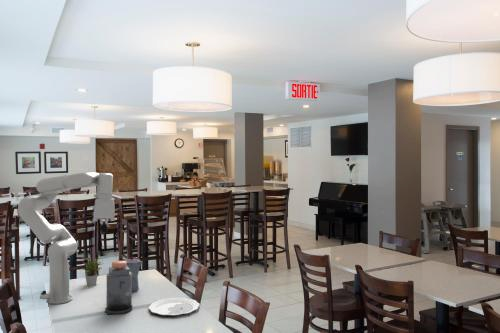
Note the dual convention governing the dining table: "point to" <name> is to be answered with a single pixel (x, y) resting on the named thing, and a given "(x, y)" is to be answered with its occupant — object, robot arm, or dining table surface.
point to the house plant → (91, 272)
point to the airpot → (119, 291)
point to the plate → (171, 305)
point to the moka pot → (133, 271)
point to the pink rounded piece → (119, 264)
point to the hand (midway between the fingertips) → (103, 231)
